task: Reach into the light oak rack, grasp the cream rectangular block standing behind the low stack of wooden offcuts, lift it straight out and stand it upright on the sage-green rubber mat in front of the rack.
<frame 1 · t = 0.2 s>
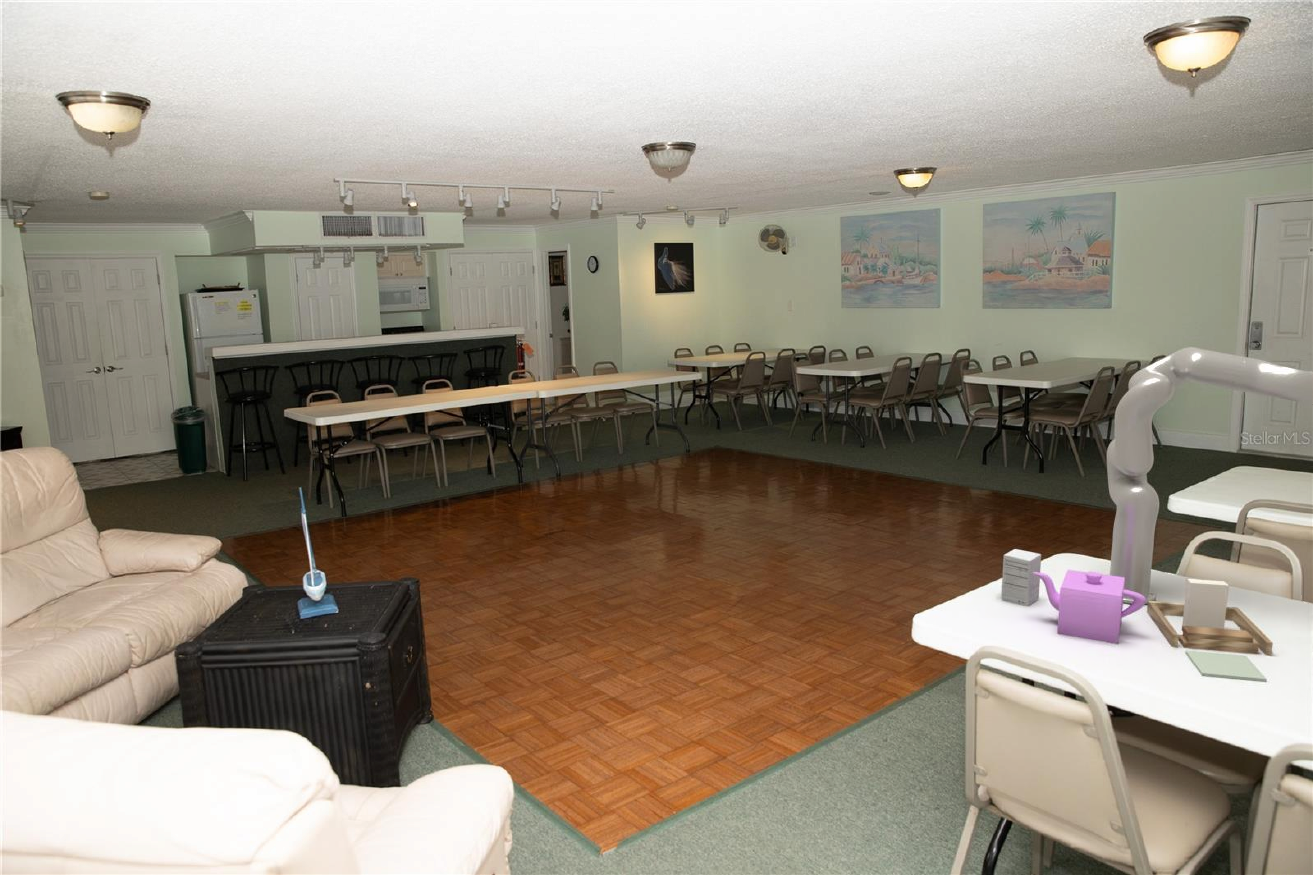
mat: (1224, 666, 192), on the table
offcut stack: (1217, 639, 202), on the table
cream rectangular block: (1202, 629, 212), resting in rack
rack: (1205, 632, 211), on the table
supplement box: (1019, 600, 234), on the table
teapot: (1084, 628, 215), on the table
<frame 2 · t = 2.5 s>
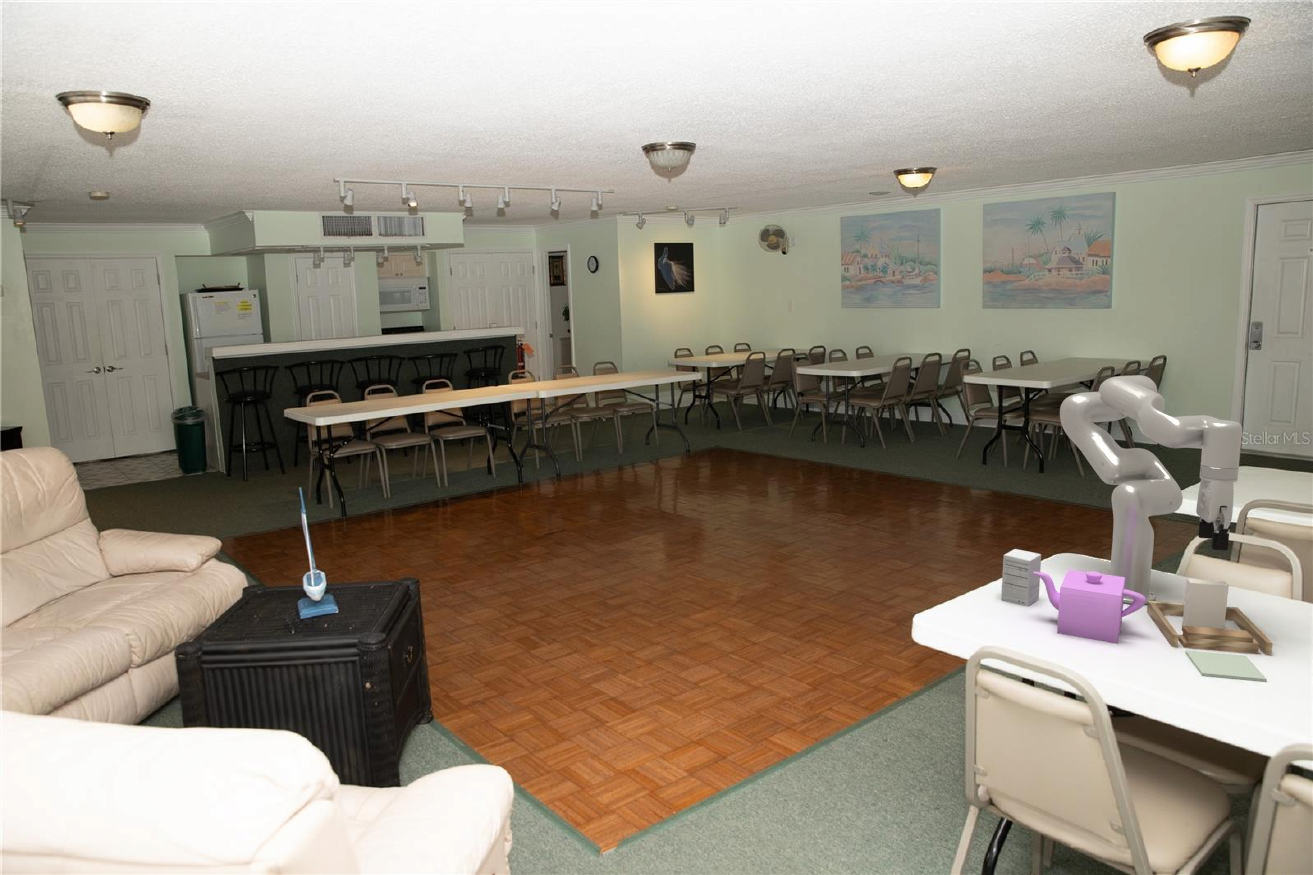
hand: (1212, 543, 208), 22 cm above the table, tool pointing down, fingers open, 9 cm apart
nothing on the table moved.
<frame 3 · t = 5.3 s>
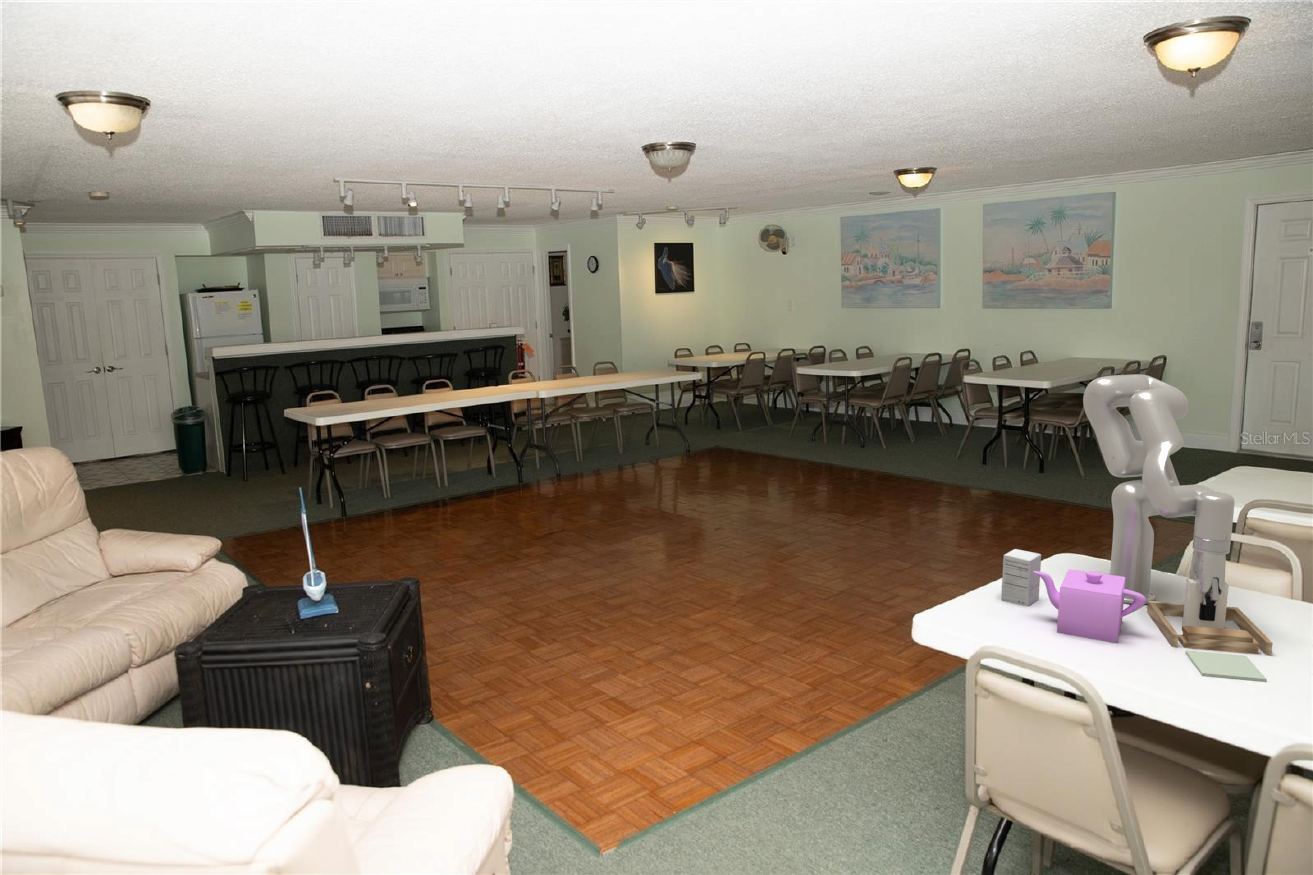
hand: (1204, 616, 212), 3 cm above the table, tool pointing down, fingers closed on cream rectangular block, 3 cm apart
cream rectangular block: (1202, 629, 212), resting in rack, touching gripper
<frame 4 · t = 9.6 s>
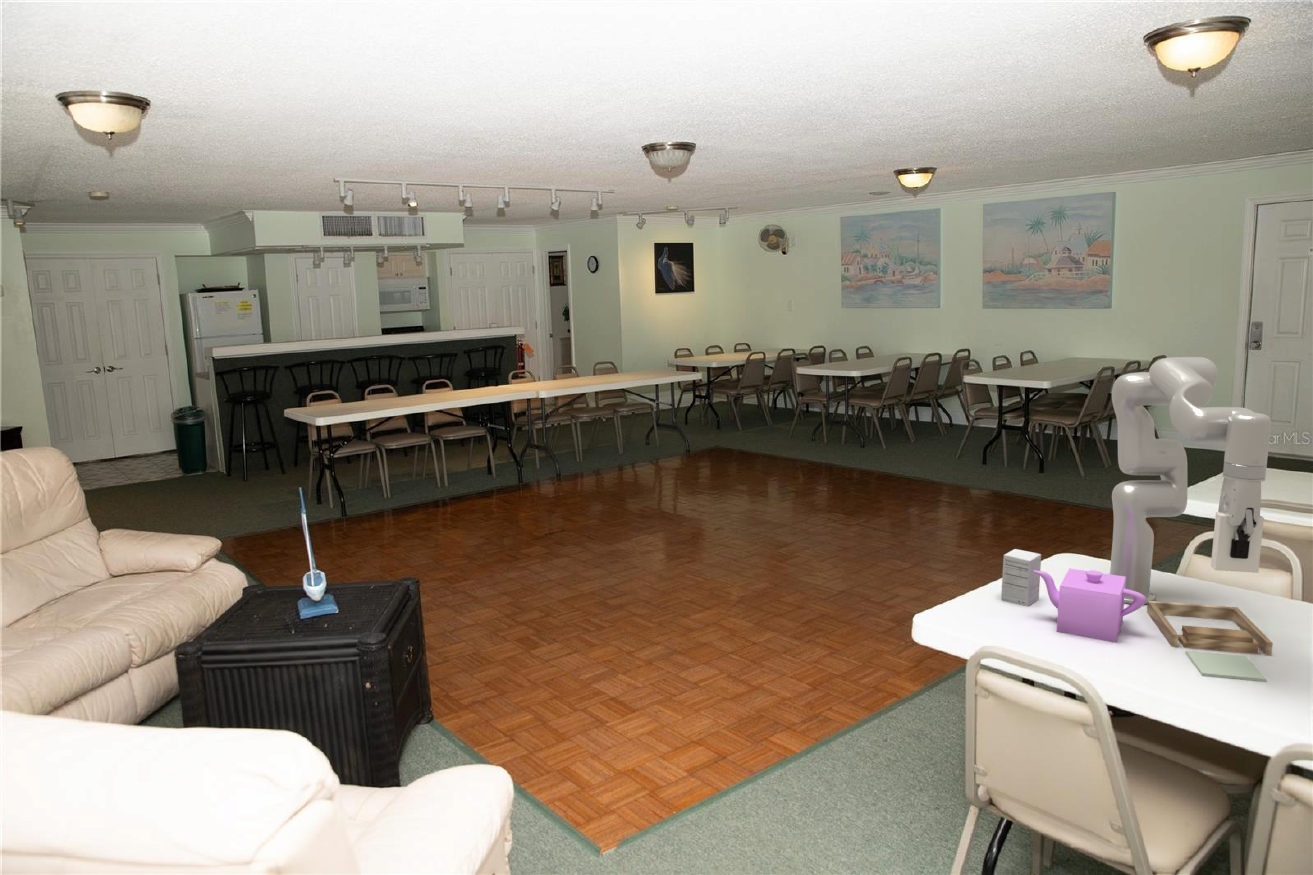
hand: (1235, 554, 188), 25 cm above the table, tool pointing down, fingers closed on cream rectangular block, 3 cm apart
cream rectangular block: (1234, 569, 189), point 22 cm above the table, touching gripper
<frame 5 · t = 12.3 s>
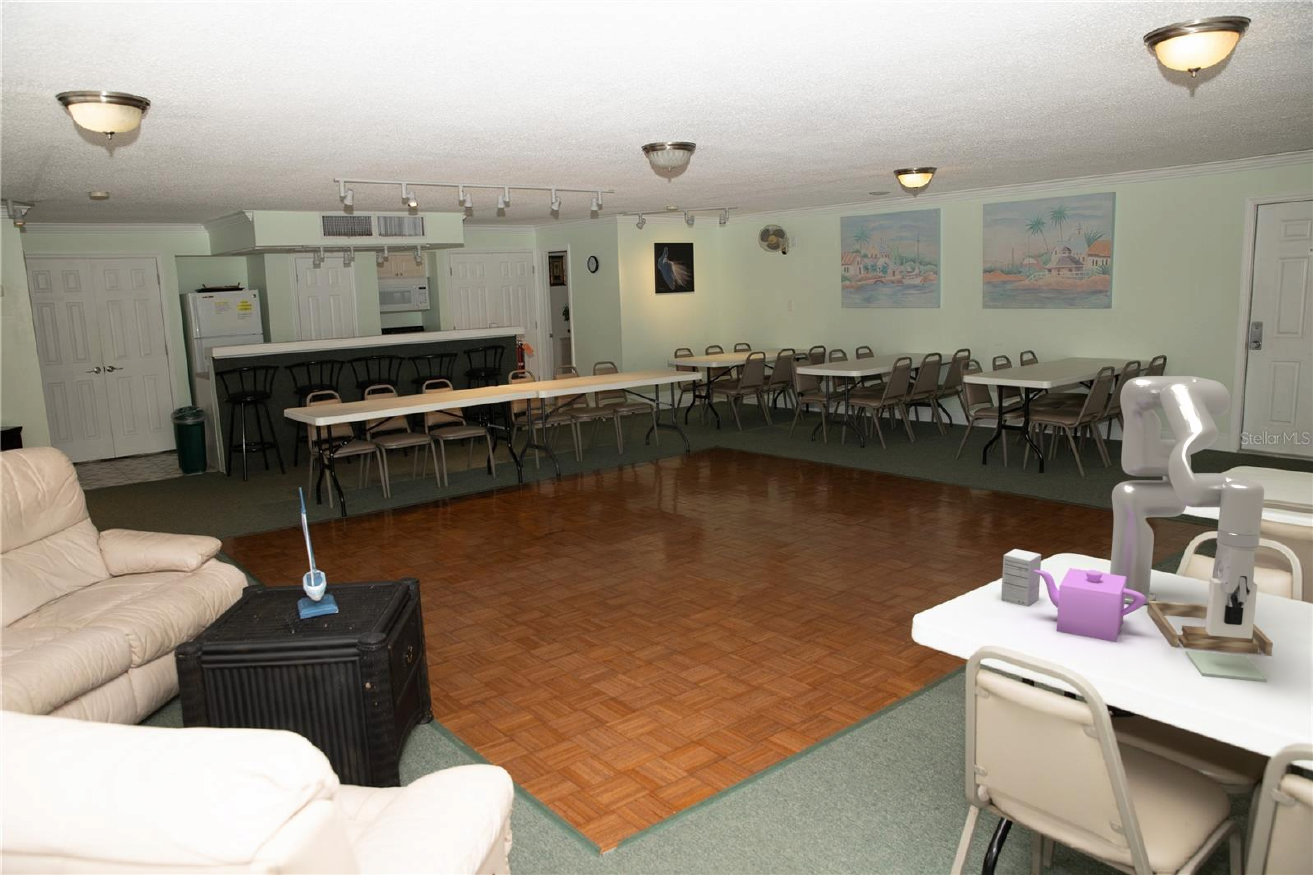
hand: (1229, 620, 190), 11 cm above the table, tool pointing down, fingers closed on cream rectangular block, 3 cm apart
cream rectangular block: (1228, 634, 191), point 8 cm above the table, touching gripper
when the fingers open (5 cm above the table, at t = 14.3 s): cream rectangular block stays where it is, resting on mat.
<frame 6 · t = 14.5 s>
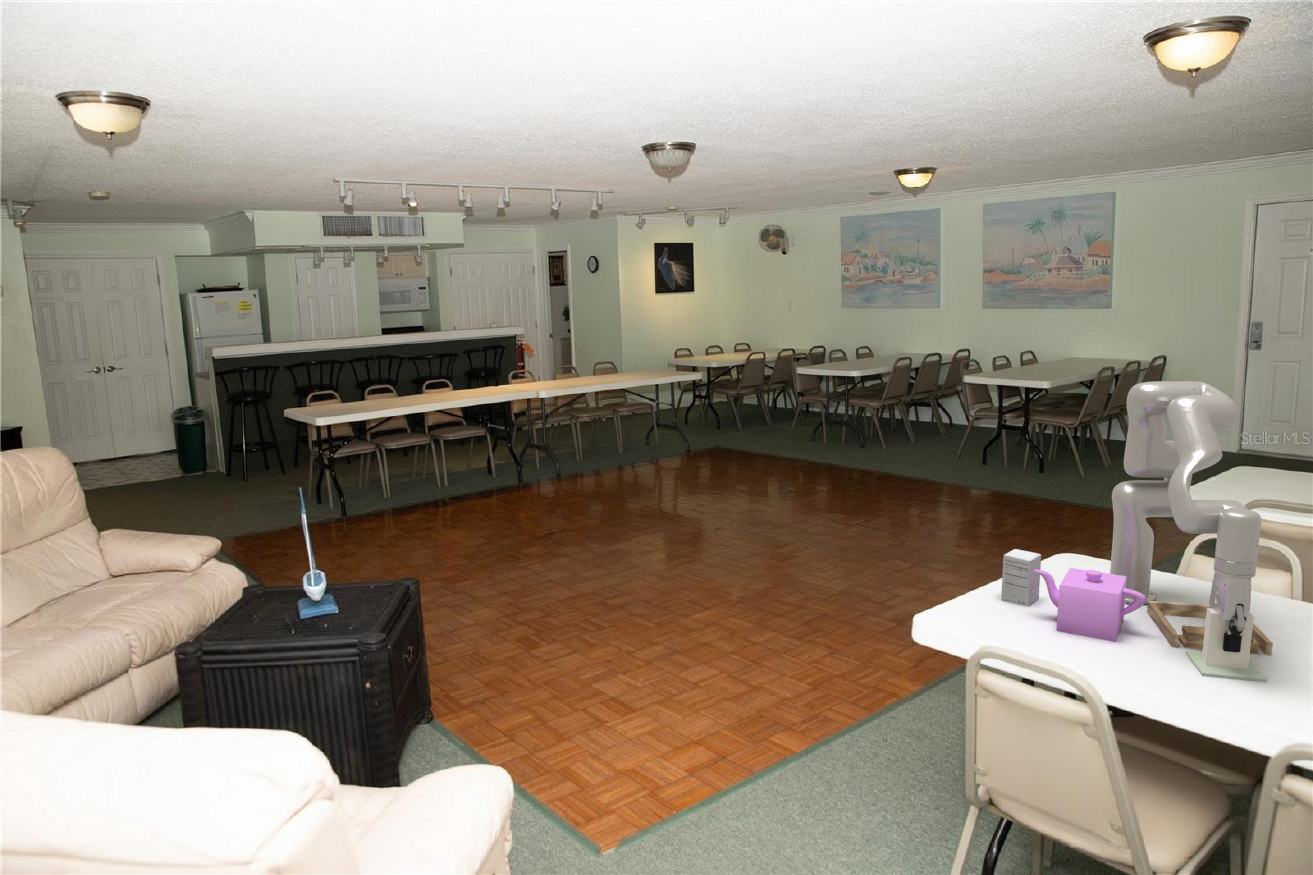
hand: (1226, 645, 191), 5 cm above the table, tool pointing down, fingers open, 5 cm apart
cream rectangular block: (1224, 664, 192), point 1 cm above the table, touching mat
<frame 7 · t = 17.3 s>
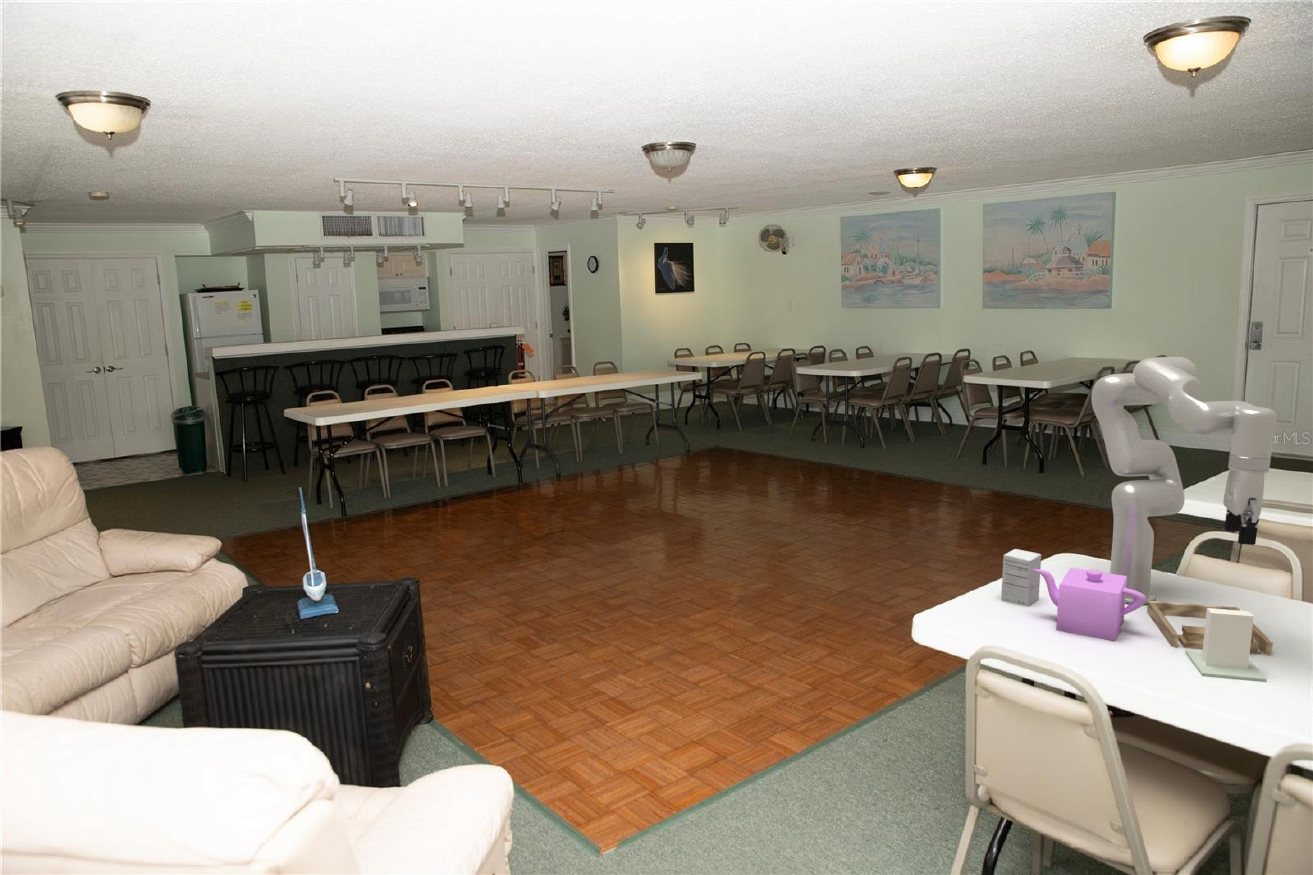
hand: (1239, 537, 197), 26 cm above the table, tool pointing down, fingers open, 9 cm apart
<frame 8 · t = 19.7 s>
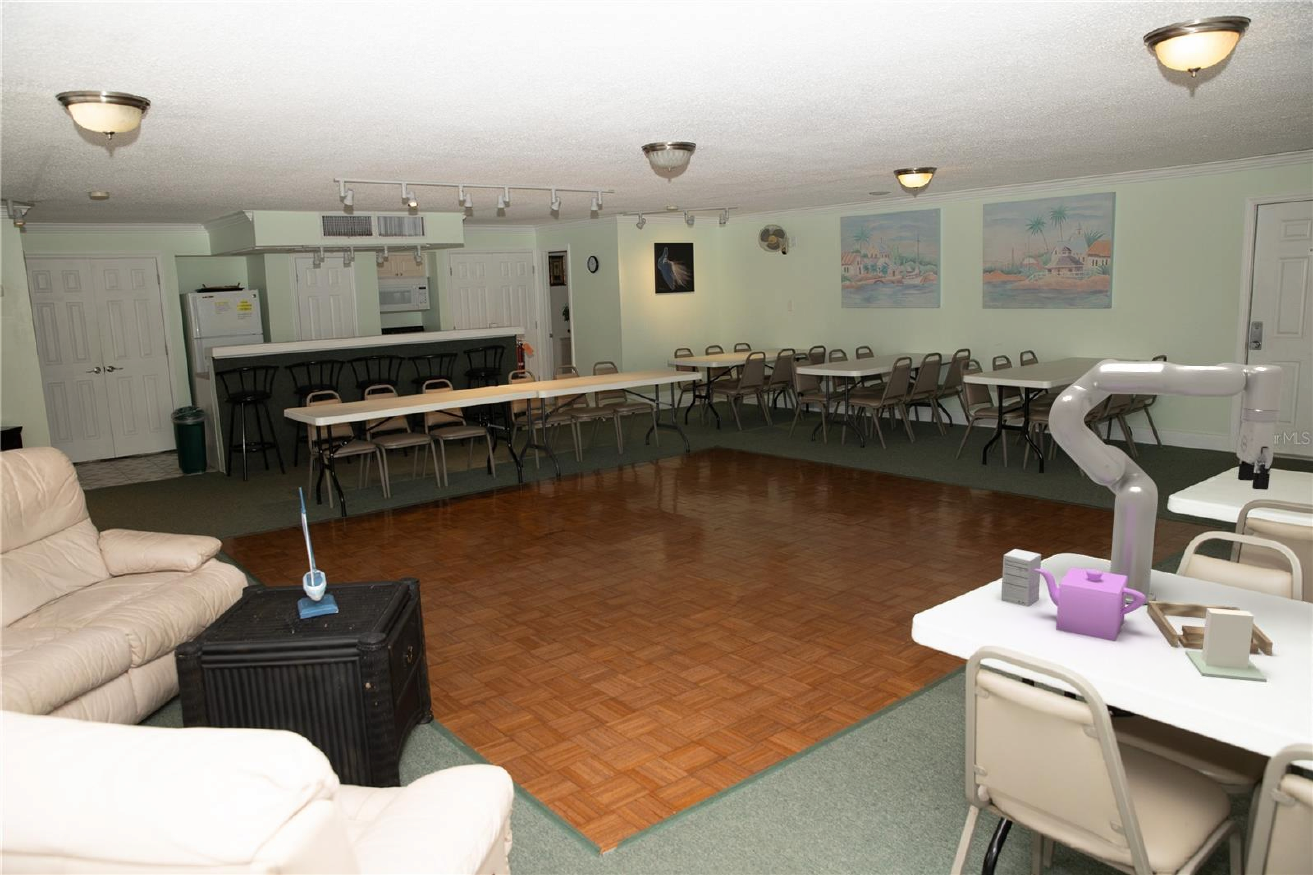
hand: (1252, 484, 217), 33 cm above the table, tool pointing down, fingers open, 9 cm apart
at the end: cream rectangular block inside the target area on the mat (0.0 cm from its centre), point 0.6 cm above the mat's base; cream rectangular block tilted 0°; the gripper is holding nothing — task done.
